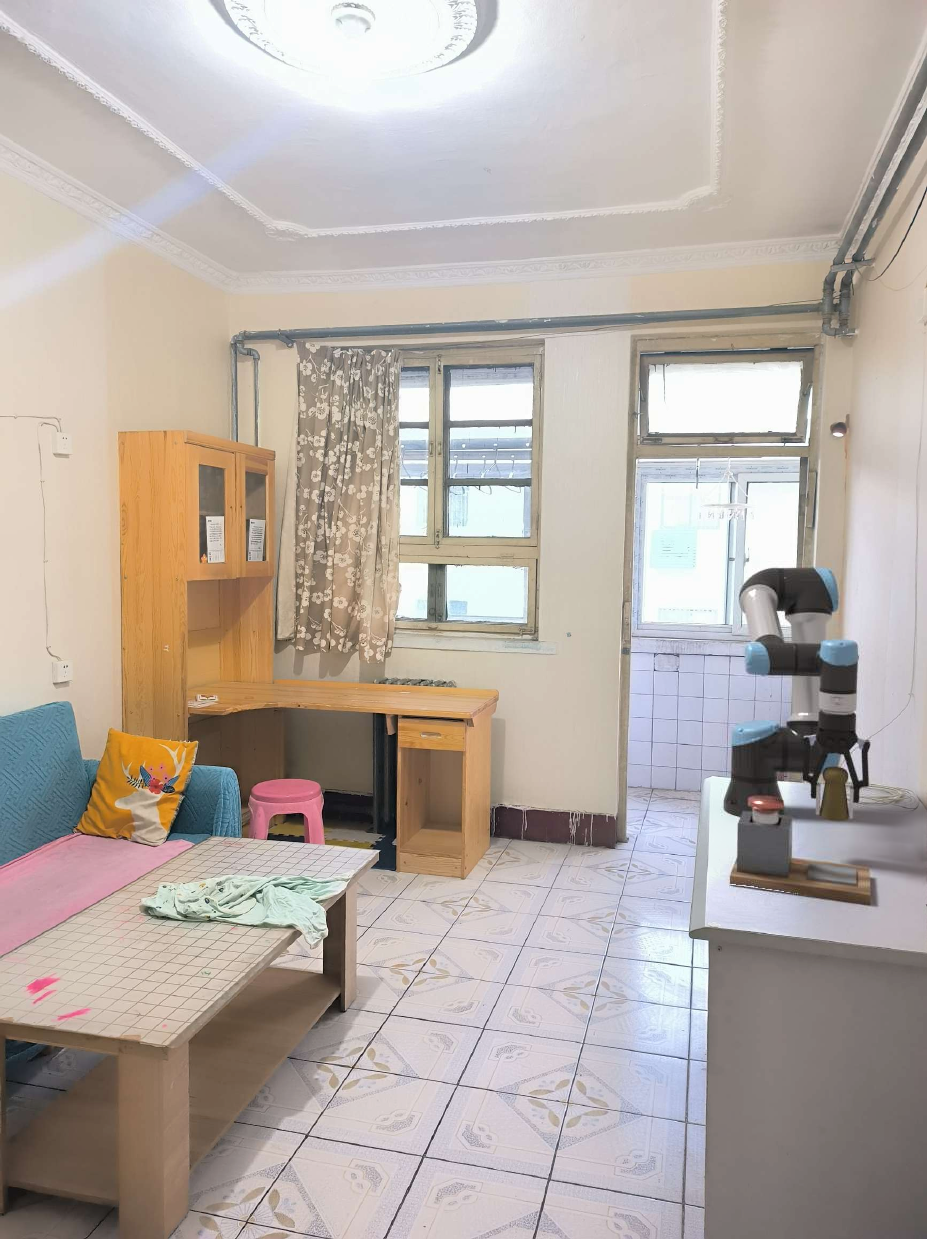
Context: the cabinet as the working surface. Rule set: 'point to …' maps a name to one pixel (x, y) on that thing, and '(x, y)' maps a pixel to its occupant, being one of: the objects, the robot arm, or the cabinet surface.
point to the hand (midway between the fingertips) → (834, 814)
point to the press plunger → (765, 809)
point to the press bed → (814, 880)
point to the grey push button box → (764, 846)
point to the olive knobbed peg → (834, 795)
